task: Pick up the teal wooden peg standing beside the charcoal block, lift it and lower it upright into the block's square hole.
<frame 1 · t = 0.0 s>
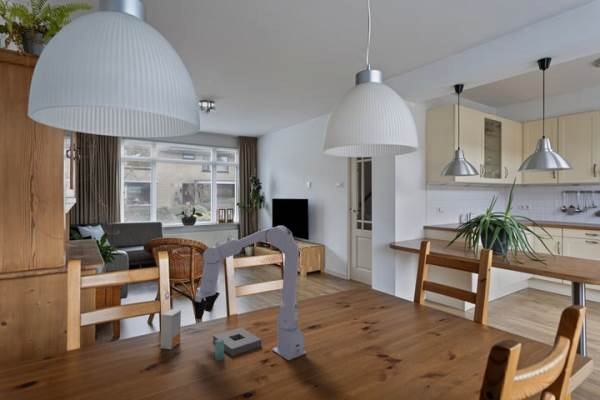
hand: (203, 314, 119), 11 cm above the table, tool pointing down, fingers open, 7 cm apart
skincare box: (170, 345, 117), on the table
peg block: (236, 344, 119), on the table
peg: (219, 358, 108), on the table
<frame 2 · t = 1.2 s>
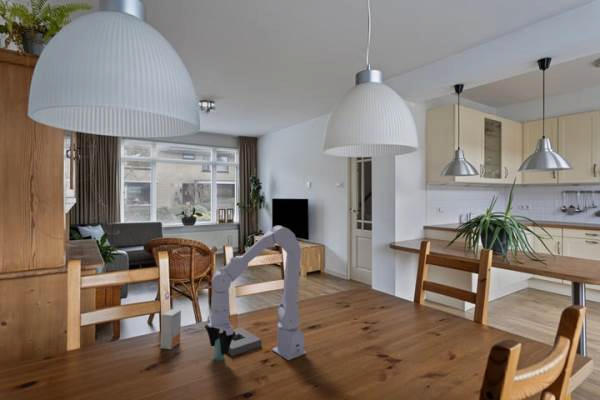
hand: (219, 349, 108), 3 cm above the table, tool pointing down, fingers open, 7 cm apart
nothing on the table moved.
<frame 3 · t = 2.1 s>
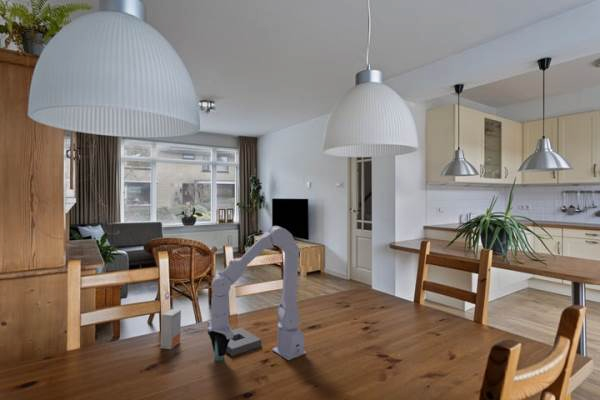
hand: (219, 353, 108), 2 cm above the table, tool pointing down, fingers closed on peg, 3 cm apart
peg: (219, 358, 108), on the table, touching gripper
everything else where it was.
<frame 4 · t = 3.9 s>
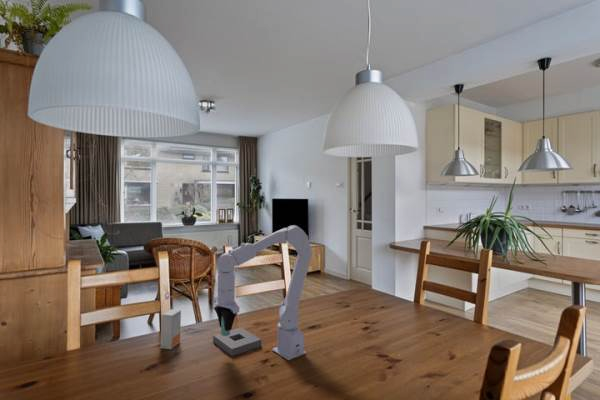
hand: (225, 328, 111), 9 cm above the table, tool pointing down, fingers closed on peg, 3 cm apart
peg: (225, 334, 111), point 7 cm above the table, touching gripper
everything else where it was.
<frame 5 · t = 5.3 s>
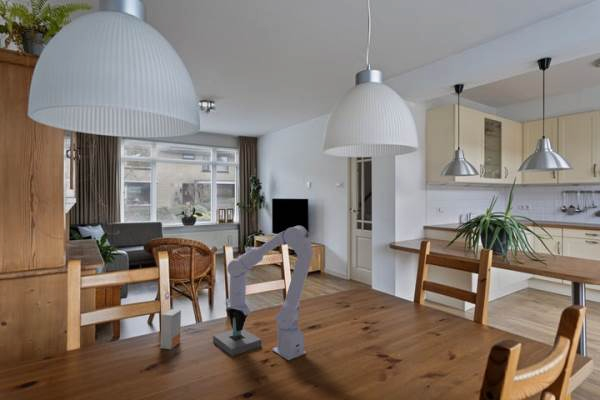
hand: (237, 328, 119), 6 cm above the table, tool pointing down, fingers closed on peg, 3 cm apart
peg: (236, 334, 119), point 4 cm above the table, touching gripper
everything else where it was.
when the fingers open (3 cm above the table, at t = 6.1 s): peg drops 1 cm, resting in peg block.
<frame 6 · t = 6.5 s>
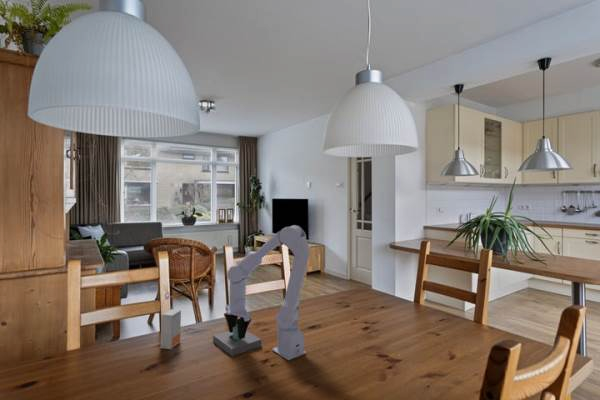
hand: (237, 334, 119), 3 cm above the table, tool pointing down, fingers open, 6 cm apart
peg: (236, 344, 119), resting in peg block
everything else where it was.
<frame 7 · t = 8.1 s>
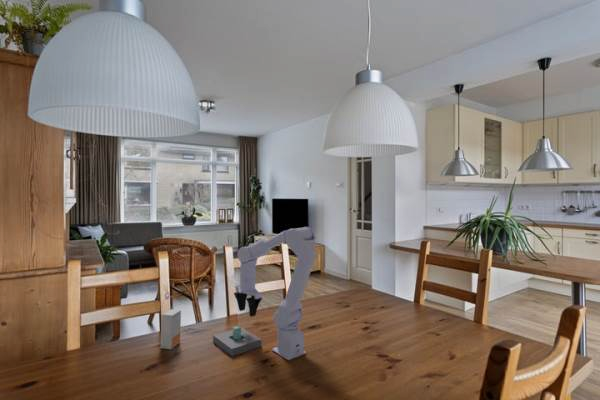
hand: (247, 313, 125), 9 cm above the table, tool pointing down, fingers open, 7 cm apart
nothing on the table moved.
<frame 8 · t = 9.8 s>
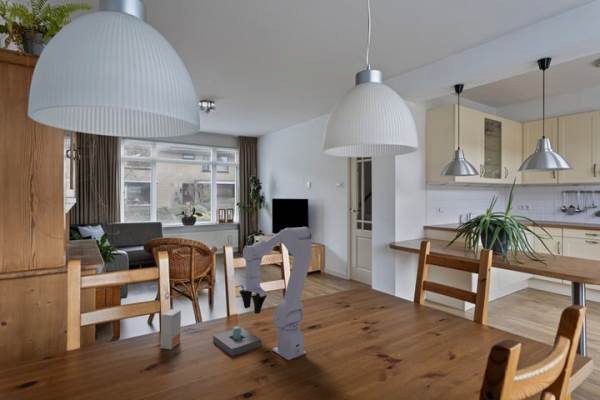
hand: (252, 310, 128), 9 cm above the table, tool pointing down, fingers open, 7 cm apart
nothing on the table moved.
at the end: peg 0.0 cm off-centre on the peg block, point 0.0 cm above the peg block's base; peg tilted 0°; the gripper is holding nothing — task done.
